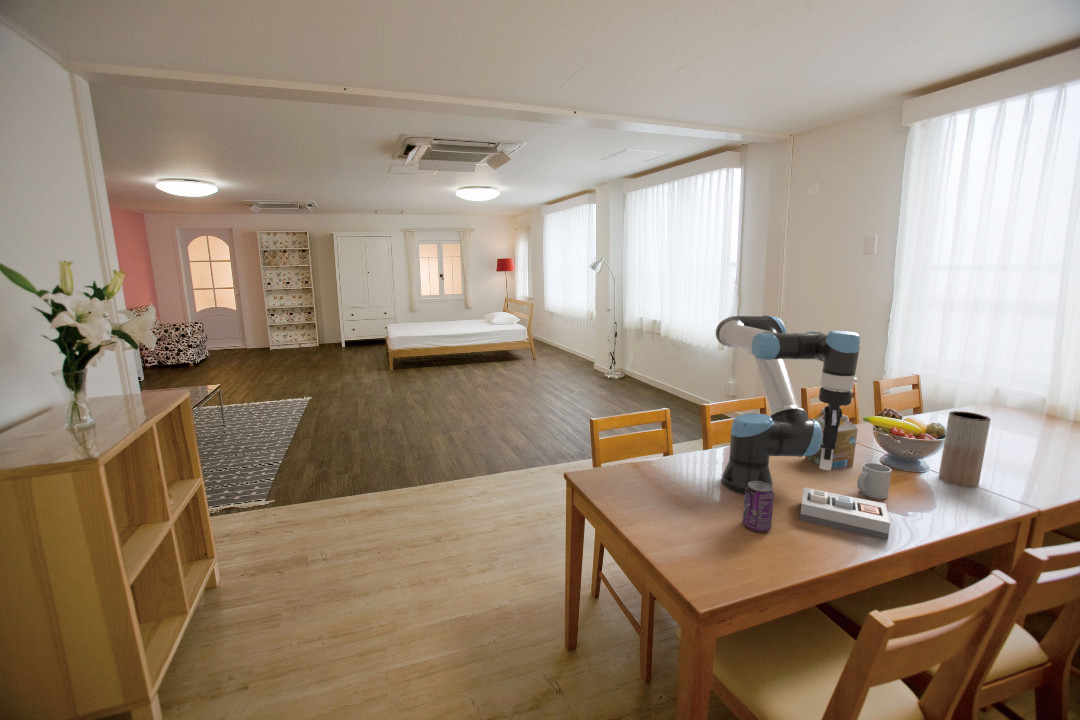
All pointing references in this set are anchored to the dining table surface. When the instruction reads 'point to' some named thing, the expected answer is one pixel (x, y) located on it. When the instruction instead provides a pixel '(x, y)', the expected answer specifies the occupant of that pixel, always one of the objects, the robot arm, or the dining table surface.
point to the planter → (964, 448)
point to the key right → (869, 509)
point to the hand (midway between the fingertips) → (825, 468)
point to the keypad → (846, 515)
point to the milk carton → (838, 443)
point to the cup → (874, 480)
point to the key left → (818, 496)
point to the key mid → (843, 501)
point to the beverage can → (758, 506)
